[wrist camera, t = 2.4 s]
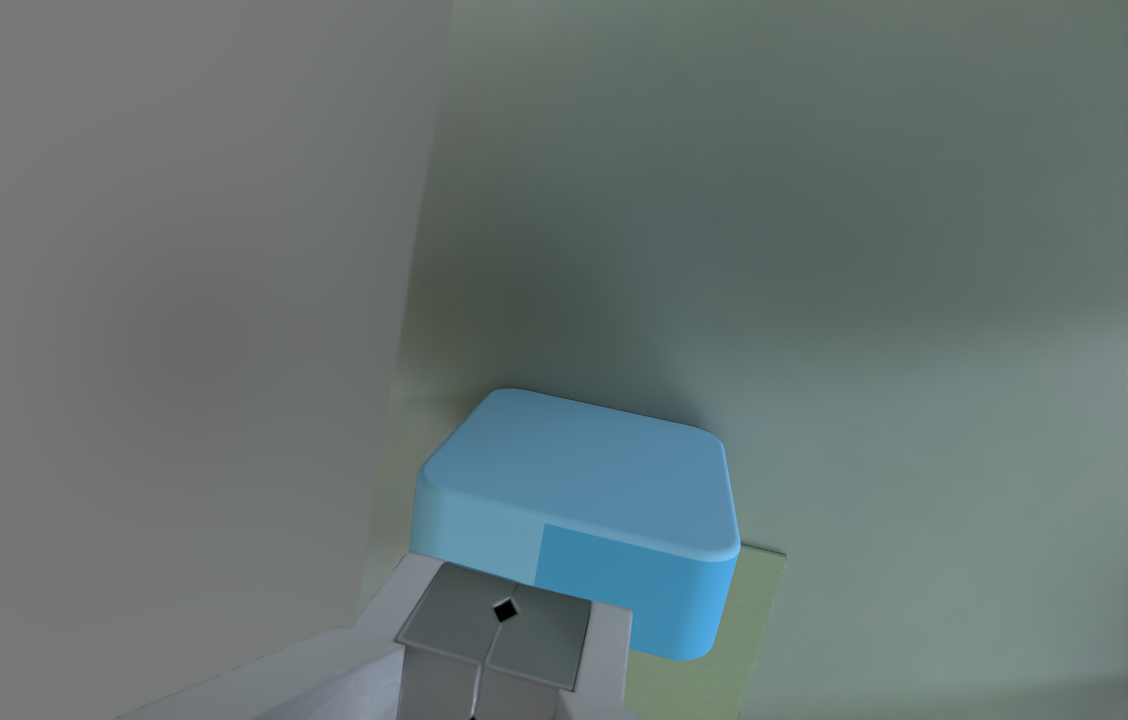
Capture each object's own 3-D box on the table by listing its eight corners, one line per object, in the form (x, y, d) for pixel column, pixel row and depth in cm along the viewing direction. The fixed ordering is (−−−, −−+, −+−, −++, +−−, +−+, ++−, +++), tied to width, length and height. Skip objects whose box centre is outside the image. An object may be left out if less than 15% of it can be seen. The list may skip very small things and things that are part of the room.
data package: (485, 458, 35) (391, 589, 23) (496, 382, 34) (402, 481, 22) (702, 509, 33) (715, 675, 22) (722, 431, 32) (747, 564, 21)
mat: (787, 555, 33) (787, 558, 33) (727, 745, 37) (727, 749, 37) (478, 480, 35) (477, 482, 35) (451, 667, 39) (449, 670, 39)
